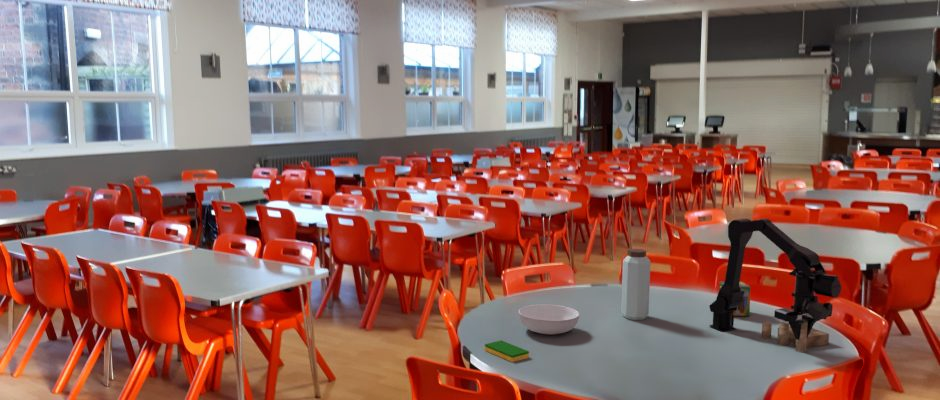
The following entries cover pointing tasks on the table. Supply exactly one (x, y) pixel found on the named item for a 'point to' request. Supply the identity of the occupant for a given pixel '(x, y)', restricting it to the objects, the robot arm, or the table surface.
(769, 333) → the dowel short
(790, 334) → the brown slab
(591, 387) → the table surface
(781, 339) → the dowel medium
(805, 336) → the dowel long
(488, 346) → the dish sponge
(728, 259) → the robot arm
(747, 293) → the chalk box
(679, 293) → the table surface
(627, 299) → the water bottle
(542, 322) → the serving bowl
